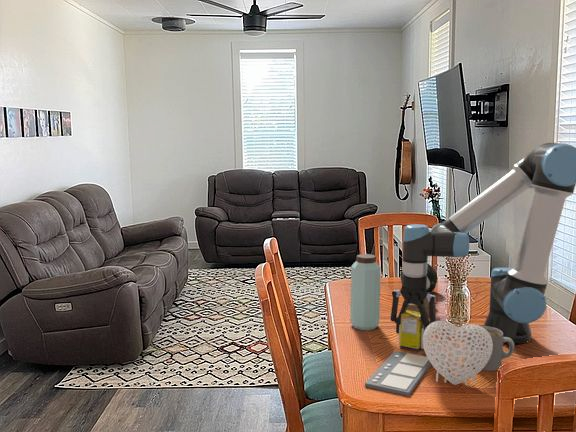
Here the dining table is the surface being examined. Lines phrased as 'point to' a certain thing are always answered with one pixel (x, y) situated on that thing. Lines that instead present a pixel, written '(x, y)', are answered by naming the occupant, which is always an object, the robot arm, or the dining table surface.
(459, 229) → the robot arm
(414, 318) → the supplement box
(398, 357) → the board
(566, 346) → the dining table surface
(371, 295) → the water bottle
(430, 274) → the squash
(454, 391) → the dining table surface
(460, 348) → the decorative heart
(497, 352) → the coffee mug
